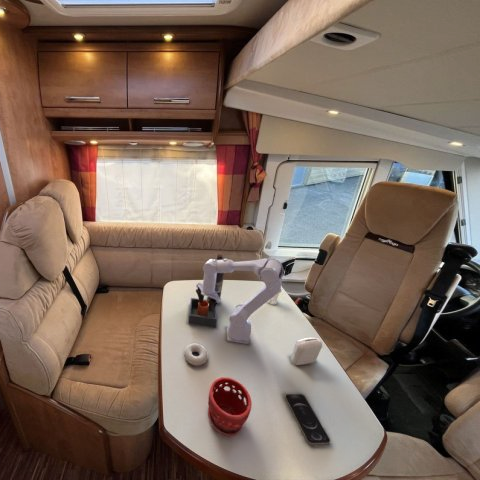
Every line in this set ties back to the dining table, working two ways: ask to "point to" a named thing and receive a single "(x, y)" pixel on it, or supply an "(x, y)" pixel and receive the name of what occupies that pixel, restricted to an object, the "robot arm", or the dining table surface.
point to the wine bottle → (218, 281)
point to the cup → (274, 298)
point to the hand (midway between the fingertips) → (206, 305)
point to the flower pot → (228, 406)
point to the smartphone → (307, 419)
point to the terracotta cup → (203, 308)
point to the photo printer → (306, 351)
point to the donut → (195, 359)
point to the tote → (202, 320)
